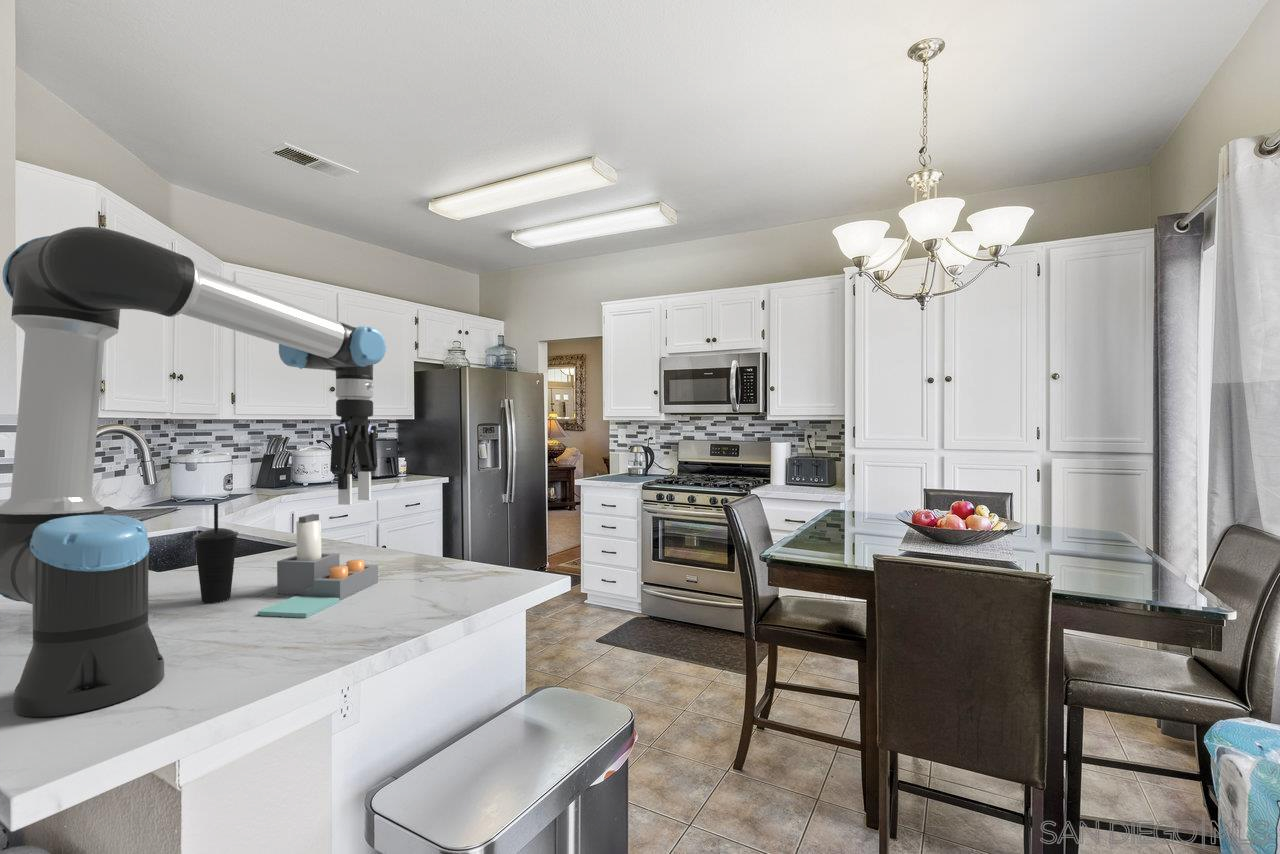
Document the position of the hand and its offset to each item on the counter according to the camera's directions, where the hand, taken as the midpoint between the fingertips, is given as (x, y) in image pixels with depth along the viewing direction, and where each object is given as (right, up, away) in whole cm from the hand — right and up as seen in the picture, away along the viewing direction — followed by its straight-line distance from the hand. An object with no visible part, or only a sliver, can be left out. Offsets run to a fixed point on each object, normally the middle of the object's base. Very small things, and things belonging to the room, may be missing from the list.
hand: (355, 501), depth 134 cm
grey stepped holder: (-6, -19, -2) cm, 20 cm away
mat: (-3, -19, -16) cm, 25 cm away
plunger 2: (0, -18, 0) cm, 18 cm away
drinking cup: (-24, -19, -10) cm, 32 cm away
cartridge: (-9, -19, -2) cm, 21 cm away
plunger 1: (-1, -18, -6) cm, 19 cm away
